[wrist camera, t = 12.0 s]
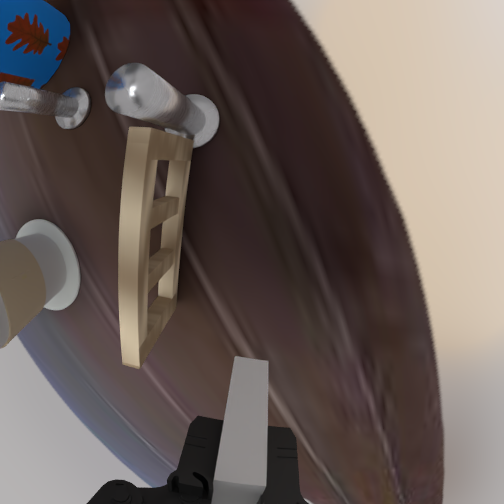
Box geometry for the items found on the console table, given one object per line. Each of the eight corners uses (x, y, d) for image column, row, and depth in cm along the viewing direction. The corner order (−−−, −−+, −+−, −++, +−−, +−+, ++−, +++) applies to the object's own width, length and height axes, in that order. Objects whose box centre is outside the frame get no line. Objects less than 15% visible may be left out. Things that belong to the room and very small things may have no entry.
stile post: (62, 90, 21) (-10, 73, 12) (94, 87, 21) (22, 63, 12) (55, 129, 23) (-20, 125, 13) (87, 128, 23) (10, 121, 13)
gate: (179, 139, 22) (129, 126, 13) (193, 140, 22) (151, 127, 13) (163, 304, 26) (122, 364, 17) (176, 307, 26) (139, 369, 17)
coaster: (13, 214, 25) (11, 215, 25) (79, 225, 25) (77, 226, 25) (21, 296, 28) (19, 298, 28) (84, 318, 28) (82, 320, 28)
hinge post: (171, 94, 22) (98, 47, 10) (224, 98, 22) (185, 41, 10) (162, 145, 23) (80, 135, 11) (215, 151, 23) (167, 138, 11)
